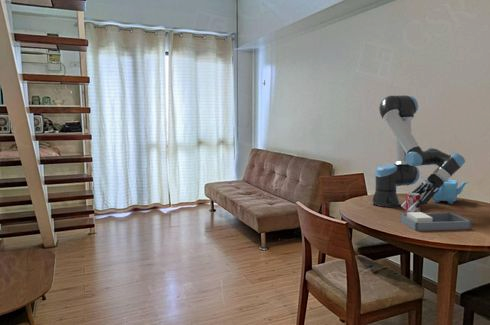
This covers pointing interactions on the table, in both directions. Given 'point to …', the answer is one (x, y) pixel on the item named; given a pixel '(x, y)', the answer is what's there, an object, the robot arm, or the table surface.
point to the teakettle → (448, 191)
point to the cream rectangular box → (419, 217)
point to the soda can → (412, 201)
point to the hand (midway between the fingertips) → (406, 209)
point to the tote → (438, 222)
